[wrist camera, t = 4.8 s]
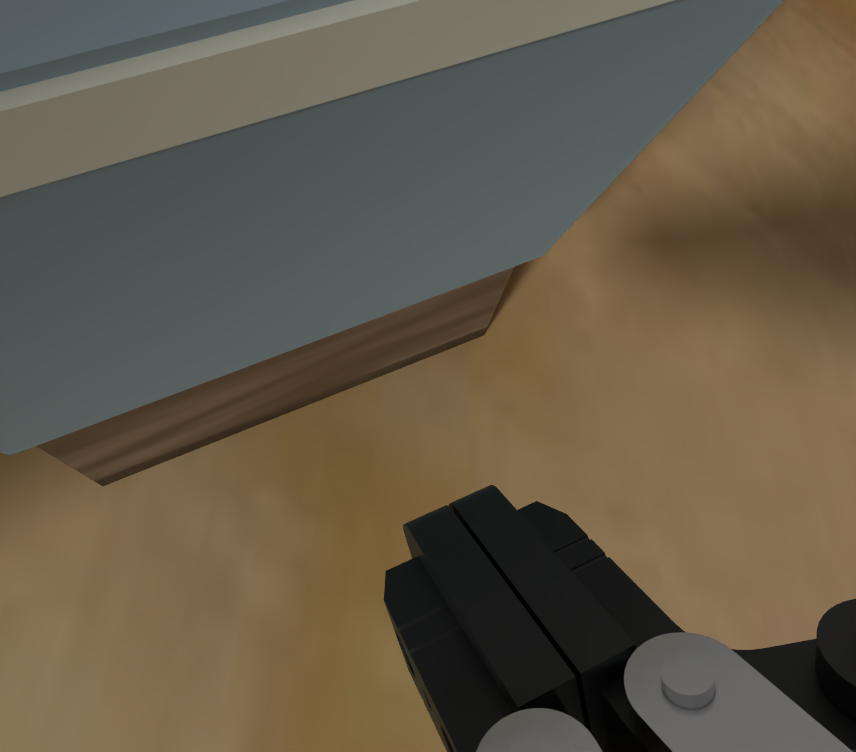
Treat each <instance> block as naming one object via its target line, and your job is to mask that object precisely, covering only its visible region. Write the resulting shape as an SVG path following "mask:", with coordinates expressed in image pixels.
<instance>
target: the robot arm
mask: <svg viewBox="0 0 856 752" xmlns="http://www.w3.org/2000/svg"><path fill="white" fill-rule="evenodd" d="M403 529H404V533H405V537H406V540H407V543H408V546H409V549H410V553H411V556H412V559H411V560H409V561H407V562H404V563H402V564H400V565H398V566H396V567H394V568H391V569H389V570H387V571H386V577H385V592H384V602H385V605H386V608H387V610H388V613H389V616H390V619H391V622H392V624H393V627H394V630H395V633H396V636H397V639H398V641H399V644H400V647H401V650H402V653H403V656H404V658H405V661H406V664H407V667H408V670H409V672H410V674H411V676H412V678H413V680H414V682H415V685H416V687H417V689H418V691H419V693H420V695H421V697H422V699H423V701H424V704H425V706H426V708H427V710H428V712H429V714H430V716H431V718H432V721H433V722H434V724H435V727H436V729H437V731H438V733H439V735H440V738H441V740H442V742H443V744H444V746H445V748H446V750H447V752H856V599H853V600H848V601H844V602H842V603H840V604H837V605H835V606H834V607H832V608H831V609H829V610H828V611H827V612H826V613H825V614H824V615H823V616H822V618H821V620H820V622H819V624H818V628H817V639H813V640H807V641H802V642H796V643H791V644H785V645H780V646H774V647H769V648H763V649H755V650H734V649H730V648H728V647H727V646H726V645H724V644H722V643H720V642H718V641H717V640H714V639H712V638H709V637H707V636H703V635H699V634H695V633H686V632H685V631H683V630H682V629H681V628H679V627H678V626H677V625H676V624H675V623H674V622H673V621H672V620H671V619H670V618H669V617H668V616H667V615H666V614H665V613H664V612H663V611H662V610H661V609H660V608H659V607H658V606H657V605H656V604H655V603H654V602H653V601H652V600H651V599H650V598H649V597H648V596H647V595H646V594H645V593H644V592H643V591H642V590H641V589H640V588H639V587H638V586H637V585H636V584H635V583H634V582H633V581H632V580H631V579H630V578H629V577H628V576H627V575H626V574H625V573H624V572H623V571H622V570H621V569H620V568H619V567H618V566H617V565H616V564H615V563H614V562H613V561H612V560H611V559H610V558H609V557H608V558H607V557H606V555H605V552H604V551H603V550H602V549H601V548H600V547H599V546H598V545H597V544H596V543H595V542H594V541H593V540H592V539H591V540H589V538H588V536H587V534H586V533H585V532H584V531H583V530H582V529H581V528H580V527H579V526H578V525H577V524H576V523H575V522H574V521H573V520H572V519H571V518H570V517H569V516H568V515H567V514H565V513H563V512H561V511H558V510H556V509H554V508H551V507H549V506H547V505H544V504H542V503H540V502H537V501H536V502H534V503H532V504H529V505H527V506H525V507H523V508H521V509H519V510H516V509H515V508H514V506H513V505H512V504H511V503H510V502H509V501H508V500H507V499H506V497H505V496H504V495H503V494H502V493H501V492H500V491H499V490H498V489H497V488H496V487H495V486H493V485H490V486H488V487H485V488H483V489H481V490H479V491H476V492H474V493H472V494H470V495H468V496H465V497H463V498H461V499H459V500H456V501H454V502H452V503H450V504H449V506H447V505H446V506H444V507H441V508H439V509H437V510H435V511H432V512H430V513H428V514H426V515H423V516H421V517H419V518H417V519H414V520H412V521H410V522H408V523H406V524H404V525H403Z"/></svg>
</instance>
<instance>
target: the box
mask: <svg viewBox="0 0 856 752" xmlns="http://www.w3.org/2000/svg"><path fill="white" fill-rule="evenodd" d="M513 269H514V267H512V268H509V269H507V270H504V271H501V272H499V273H496V274H493V275H491V276H488V277H485V278H483V279H480V280H477V281H475V282H472V283H469V284H467V285H464V286H461V287H459V288H456V289H453V290H451V291H448V292H445V293H443V294H440V295H437V296H435V297H432V298H429V299H427V300H424V301H421V302H419V303H416V304H413V305H411V306H408V307H405V308H403V309H400V310H397V311H395V312H392V313H389V314H387V315H384V316H381V317H379V318H376V319H373V320H371V321H368V322H365V323H363V324H360V325H357V326H355V327H352V328H349V329H347V330H344V331H341V332H339V333H336V334H333V335H331V336H328V337H325V338H323V339H320V340H317V341H315V342H312V343H309V344H307V345H304V346H301V347H299V348H296V349H293V350H291V351H288V352H285V353H283V354H280V355H277V356H275V357H272V358H269V359H267V360H264V361H261V362H259V363H256V364H253V365H251V366H248V367H245V368H243V369H240V370H237V371H235V372H232V373H229V374H227V375H224V376H221V377H219V378H216V379H213V380H211V381H208V382H205V383H203V384H200V385H197V386H195V387H192V388H189V389H187V390H184V391H181V392H179V393H176V394H173V395H171V396H168V397H165V398H163V399H160V400H157V401H155V402H152V403H149V404H147V405H144V406H141V407H139V408H136V409H133V410H131V411H128V412H125V413H123V414H120V415H117V416H115V417H112V418H109V419H107V420H104V421H101V422H99V423H96V424H93V425H91V426H88V427H85V428H83V429H80V430H77V431H75V432H72V433H69V434H67V435H64V436H61V437H59V438H56V439H53V440H51V441H48V442H45V443H43V444H40V445H37V447H39V448H41V449H42V450H44V451H46V452H47V453H49V454H51V455H52V456H54V457H56V458H57V459H59V460H60V461H62V462H64V463H65V464H67V465H69V466H70V467H72V468H74V469H75V470H77V471H79V472H80V473H82V474H84V475H85V476H87V477H88V478H90V479H92V480H93V481H95V482H97V483H98V484H100V485H102V486H104V485H107V484H109V483H112V482H114V481H117V480H120V479H122V478H125V477H127V476H130V475H132V474H135V473H137V472H140V471H142V470H145V469H147V468H150V467H152V466H155V465H157V464H160V463H162V462H165V461H167V460H170V459H173V458H175V457H178V456H180V455H183V454H185V453H188V452H190V451H193V450H195V449H198V448H200V447H203V446H205V445H208V444H210V443H213V442H215V441H218V440H220V439H223V438H226V437H228V436H231V435H233V434H236V433H238V432H241V431H243V430H246V429H248V428H251V427H253V426H256V425H258V424H261V423H263V422H266V421H268V420H271V419H273V418H276V417H279V416H281V415H284V414H286V413H289V412H291V411H294V410H296V409H299V408H301V407H304V406H306V405H309V404H311V403H314V402H316V401H319V400H321V399H324V398H326V397H329V396H331V395H334V394H337V393H339V392H342V391H344V390H347V389H349V388H352V387H354V386H357V385H359V384H362V383H364V382H367V381H369V380H372V379H374V378H377V377H379V376H382V375H384V374H387V373H390V372H392V371H395V370H397V369H400V368H402V367H405V366H407V365H410V364H412V363H415V362H417V361H420V360H422V359H425V358H427V357H430V356H432V355H435V354H437V353H440V352H443V351H445V350H448V349H450V348H453V347H455V346H458V345H460V344H463V343H465V342H468V341H470V340H473V339H475V338H478V337H480V336H483V335H484V334H485V332H486V329H487V327H488V325H489V323H490V320H491V318H492V316H493V314H494V312H495V309H496V307H497V305H498V303H499V300H500V298H501V296H502V294H503V291H504V289H505V287H506V285H507V283H508V280H509V278H510V276H511V274H512V271H513Z"/></svg>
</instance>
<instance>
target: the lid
mask: <svg viewBox="0 0 856 752" xmlns="http://www.w3.org/2000/svg"><path fill="white" fill-rule="evenodd" d="M783 1H784V0H0V453H2V454H7V455H13V454H16V453H19V452H21V451H24V450H27V449H29V448H32V447H35V446H37V445H40V444H43V443H45V442H48V441H51V440H53V439H56V438H59V437H61V436H64V435H67V434H69V433H72V432H75V431H77V430H80V429H83V428H85V427H88V426H91V425H93V424H96V423H99V422H101V421H104V420H107V419H109V418H112V417H115V416H117V415H120V414H123V413H125V412H128V411H131V410H133V409H136V408H139V407H141V406H144V405H147V404H149V403H152V402H155V401H157V400H160V399H163V398H165V397H168V396H171V395H173V394H176V393H179V392H181V391H184V390H187V389H189V388H192V387H195V386H197V385H200V384H203V383H205V382H208V381H211V380H213V379H216V378H219V377H221V376H224V375H227V374H229V373H232V372H235V371H237V370H240V369H243V368H245V367H248V366H251V365H253V364H256V363H259V362H261V361H264V360H267V359H269V358H272V357H275V356H277V355H280V354H283V353H285V352H288V351H291V350H293V349H296V348H299V347H301V346H304V345H307V344H309V343H312V342H315V341H317V340H320V339H323V338H325V337H328V336H331V335H333V334H336V333H339V332H341V331H344V330H347V329H349V328H352V327H355V326H357V325H360V324H363V323H365V322H368V321H371V320H373V319H376V318H379V317H381V316H384V315H387V314H389V313H392V312H395V311H397V310H400V309H403V308H405V307H408V306H411V305H413V304H416V303H419V302H421V301H424V300H427V299H429V298H432V297H435V296H437V295H440V294H443V293H445V292H448V291H451V290H453V289H456V288H459V287H461V286H464V285H467V284H469V283H472V282H475V281H477V280H480V279H483V278H485V277H488V276H491V275H493V274H496V273H499V272H501V271H504V270H507V269H509V268H512V267H515V266H517V265H520V264H523V263H525V262H528V261H531V260H533V259H536V258H539V257H541V256H543V255H544V254H545V253H546V252H547V251H548V250H549V249H550V247H551V246H552V245H553V244H554V243H555V242H556V241H557V240H558V239H559V238H560V237H561V236H562V235H563V234H564V233H565V232H566V231H567V229H568V228H569V227H570V226H571V225H572V224H573V223H574V222H575V221H576V220H577V219H578V218H579V217H580V216H581V215H582V214H583V213H584V212H585V210H586V209H587V208H588V207H589V206H590V205H591V204H592V203H593V202H594V201H595V200H596V199H597V198H598V197H599V196H600V195H601V194H602V192H603V191H604V190H605V189H606V188H607V187H608V186H609V185H610V184H611V183H612V182H613V181H614V180H615V179H616V178H617V177H618V176H619V174H620V173H621V172H622V171H623V170H624V169H625V168H626V167H627V166H628V165H629V164H630V163H631V162H632V161H633V160H634V159H635V158H636V156H637V155H638V154H639V153H640V152H641V151H642V150H643V149H644V148H645V147H646V146H647V145H648V144H649V143H650V142H651V141H652V140H653V138H654V137H655V136H656V135H657V134H658V133H659V132H660V131H661V130H662V129H663V128H664V127H665V126H666V125H667V124H668V123H669V122H670V120H671V119H672V118H673V117H674V116H675V115H676V114H677V113H678V112H679V111H680V110H681V109H682V108H683V107H684V106H685V105H686V104H687V102H688V101H689V100H690V99H691V98H692V97H693V96H694V95H695V94H696V93H697V92H698V91H699V90H700V89H701V88H702V87H703V86H704V84H705V83H706V82H707V81H708V80H709V79H710V78H711V77H712V76H713V75H714V74H715V73H716V72H717V71H718V70H719V69H720V68H721V66H722V65H723V64H724V63H725V62H726V61H727V60H728V59H729V58H730V57H731V56H732V55H733V54H734V53H735V52H736V51H737V50H738V49H739V47H740V46H741V45H742V44H743V43H744V42H745V41H746V40H747V39H748V38H749V37H750V36H751V35H752V34H753V33H754V32H755V31H756V29H757V28H758V27H759V26H760V25H761V24H762V23H763V22H764V21H765V20H766V19H767V18H768V17H769V16H770V15H771V14H772V13H773V11H774V10H775V9H776V8H777V7H778V6H779V5H780V4H781V3H782V2H783Z"/></svg>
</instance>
